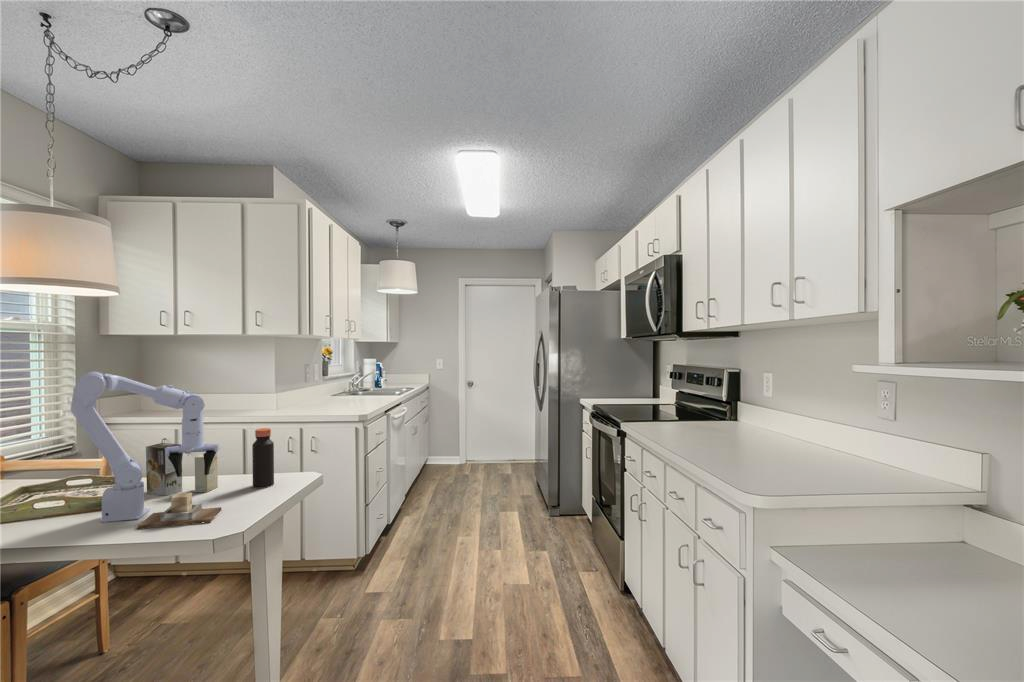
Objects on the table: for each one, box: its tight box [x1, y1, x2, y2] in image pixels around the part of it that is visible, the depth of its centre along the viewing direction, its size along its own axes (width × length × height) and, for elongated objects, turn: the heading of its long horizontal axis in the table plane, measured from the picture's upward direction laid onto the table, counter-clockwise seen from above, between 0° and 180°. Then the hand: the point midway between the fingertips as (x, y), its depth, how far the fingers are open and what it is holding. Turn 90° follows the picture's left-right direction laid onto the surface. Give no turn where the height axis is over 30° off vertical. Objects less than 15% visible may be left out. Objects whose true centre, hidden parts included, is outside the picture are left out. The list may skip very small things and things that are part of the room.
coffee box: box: [145, 442, 183, 497], centre depth 169 cm, size 9×6×16 cm
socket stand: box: [137, 502, 222, 530], centre depth 145 cm, size 18×10×3 cm, turn 105°
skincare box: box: [194, 452, 219, 493], centre depth 172 cm, size 6×4×12 cm
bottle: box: [251, 427, 275, 488], centre depth 177 cm, size 7×7×20 cm
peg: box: [170, 492, 193, 513], centre depth 145 cm, size 4×4×6 cm
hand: (193, 475), depth 157 cm, fingers open, 7 cm apart
